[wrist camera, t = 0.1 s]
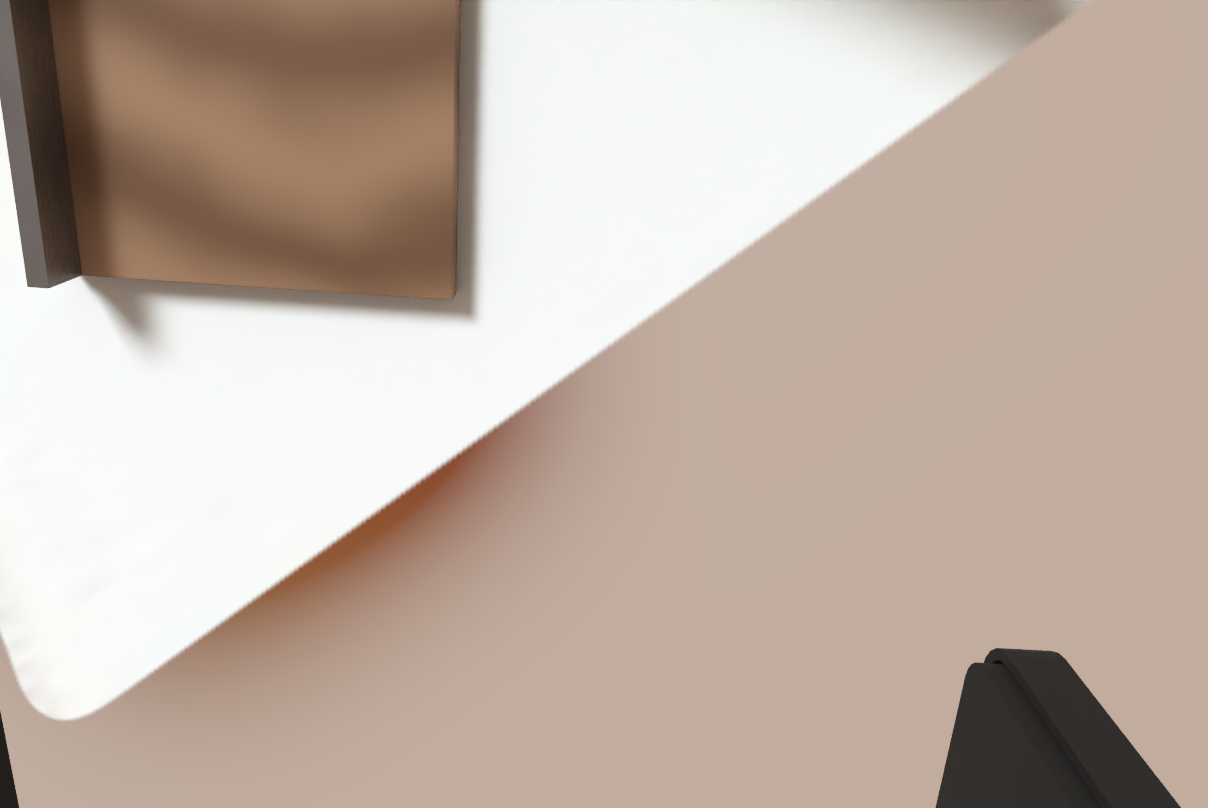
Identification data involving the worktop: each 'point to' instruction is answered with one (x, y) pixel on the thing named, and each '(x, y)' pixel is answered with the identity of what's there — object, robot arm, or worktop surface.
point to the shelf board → (264, 141)
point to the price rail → (37, 144)
